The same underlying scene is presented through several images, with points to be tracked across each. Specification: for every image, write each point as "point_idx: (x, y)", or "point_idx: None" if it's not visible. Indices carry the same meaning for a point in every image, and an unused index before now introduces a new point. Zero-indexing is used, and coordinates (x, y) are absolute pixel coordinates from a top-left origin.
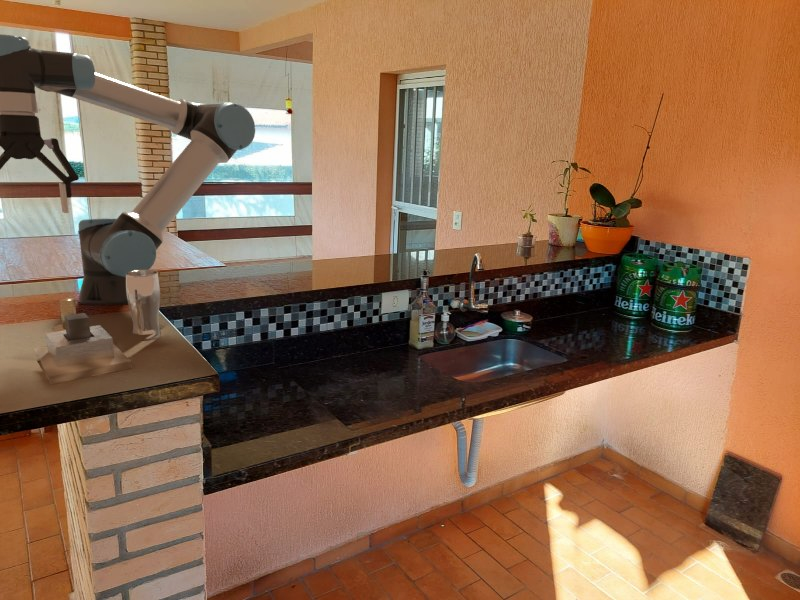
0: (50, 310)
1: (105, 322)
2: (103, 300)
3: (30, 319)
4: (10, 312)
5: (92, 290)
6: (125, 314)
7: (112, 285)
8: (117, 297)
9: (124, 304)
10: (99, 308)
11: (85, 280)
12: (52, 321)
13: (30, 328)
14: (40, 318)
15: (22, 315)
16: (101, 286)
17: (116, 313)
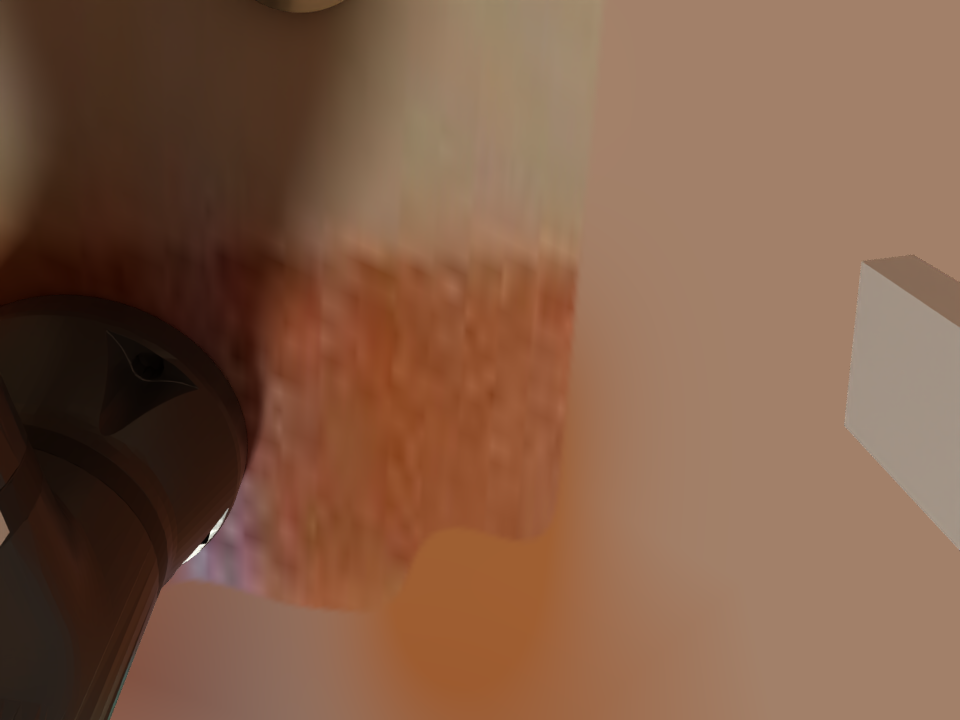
0: (381, 416)
1: (112, 61)
2: (103, 328)
3: (475, 297)
4: (546, 451)
5: (145, 405)
6: (5, 179)
7: (12, 381)
8: (19, 328)
9: (3, 309)
10: None
11: (167, 485)
12: (380, 214)
13: (486, 131)
14: (431, 295)
15: (503, 382)
16: (81, 390)
17: (57, 222)
